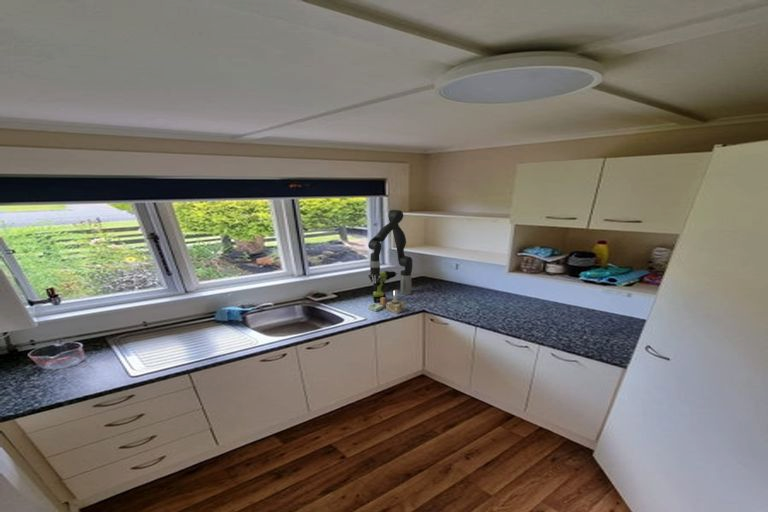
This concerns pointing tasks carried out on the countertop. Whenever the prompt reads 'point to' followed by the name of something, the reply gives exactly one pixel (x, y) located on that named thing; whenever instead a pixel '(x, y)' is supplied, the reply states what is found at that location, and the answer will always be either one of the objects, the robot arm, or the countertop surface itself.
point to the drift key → (383, 301)
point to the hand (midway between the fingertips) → (375, 287)
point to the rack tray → (375, 307)
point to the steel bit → (395, 296)
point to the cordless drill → (378, 293)
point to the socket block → (395, 307)
